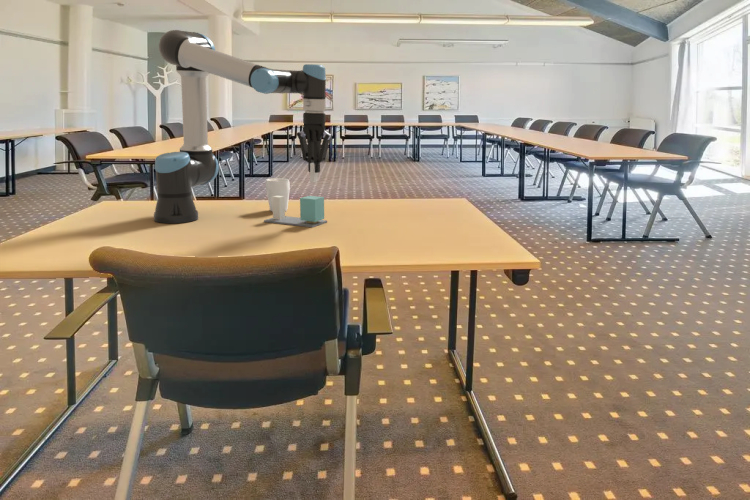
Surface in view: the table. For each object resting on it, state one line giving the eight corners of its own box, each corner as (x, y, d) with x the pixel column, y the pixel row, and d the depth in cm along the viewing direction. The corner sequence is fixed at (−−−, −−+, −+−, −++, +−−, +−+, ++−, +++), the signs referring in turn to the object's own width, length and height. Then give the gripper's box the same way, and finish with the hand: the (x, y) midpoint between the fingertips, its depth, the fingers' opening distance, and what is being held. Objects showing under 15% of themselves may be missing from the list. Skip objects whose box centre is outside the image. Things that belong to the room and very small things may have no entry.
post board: (263, 221, 222) (263, 197, 220) (279, 217, 231) (279, 193, 229) (312, 227, 214) (312, 202, 212) (327, 222, 223) (327, 198, 221)
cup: (285, 213, 239) (285, 181, 236) (263, 212, 241) (262, 180, 238) (293, 209, 248) (292, 178, 245) (271, 208, 249) (270, 177, 246)
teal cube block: (300, 220, 218) (300, 198, 216) (309, 217, 223) (309, 195, 221) (315, 221, 215) (315, 199, 214) (324, 218, 221) (324, 197, 219)
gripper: (291, 111, 212) (292, 181, 218) (325, 113, 206) (324, 184, 212) (304, 111, 218) (304, 179, 224) (336, 112, 213) (335, 182, 219)
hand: (314, 181), depth 218 cm, fingers closed
